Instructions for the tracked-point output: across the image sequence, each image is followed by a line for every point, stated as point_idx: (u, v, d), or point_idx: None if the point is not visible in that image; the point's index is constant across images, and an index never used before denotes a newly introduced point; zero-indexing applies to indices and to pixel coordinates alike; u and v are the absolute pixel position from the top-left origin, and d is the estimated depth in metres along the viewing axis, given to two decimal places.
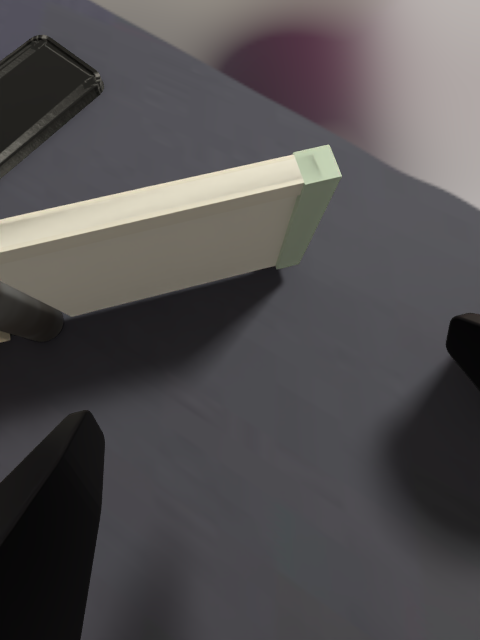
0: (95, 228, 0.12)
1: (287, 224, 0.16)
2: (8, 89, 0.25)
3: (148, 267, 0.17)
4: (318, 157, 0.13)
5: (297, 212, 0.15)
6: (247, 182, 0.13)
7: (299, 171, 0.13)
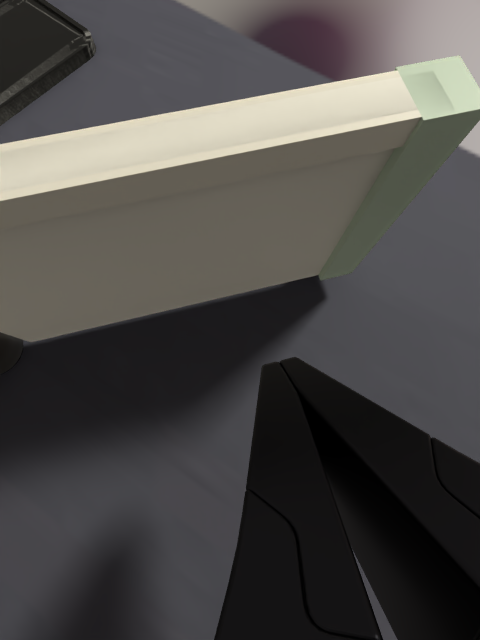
0: (23, 193, 0.06)
1: (357, 208, 0.10)
2: None
3: (136, 272, 0.11)
4: (443, 75, 0.07)
5: (385, 184, 0.09)
6: (315, 115, 0.07)
7: (411, 98, 0.07)
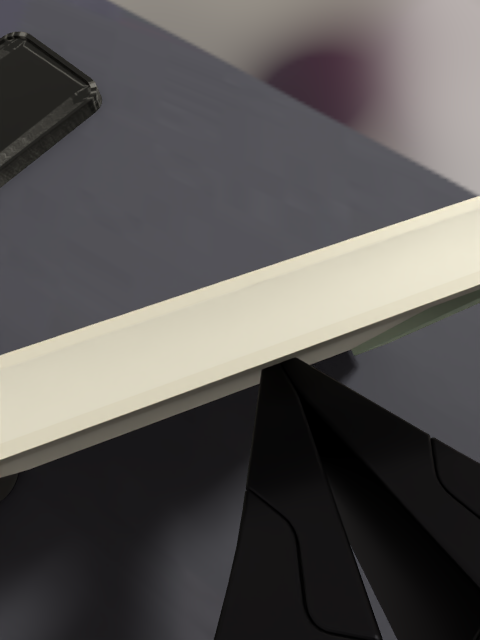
0: (8, 447, 0.04)
1: (418, 313, 0.08)
2: None
3: (154, 413, 0.09)
4: None
5: (467, 303, 0.07)
6: (406, 270, 0.05)
7: None
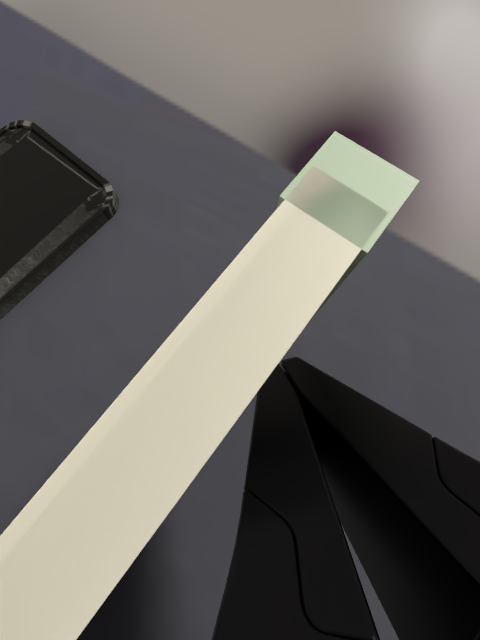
0: None
1: None
2: None
3: None
4: (339, 172, 0.05)
5: (330, 294, 0.07)
6: (238, 343, 0.04)
7: (330, 230, 0.05)
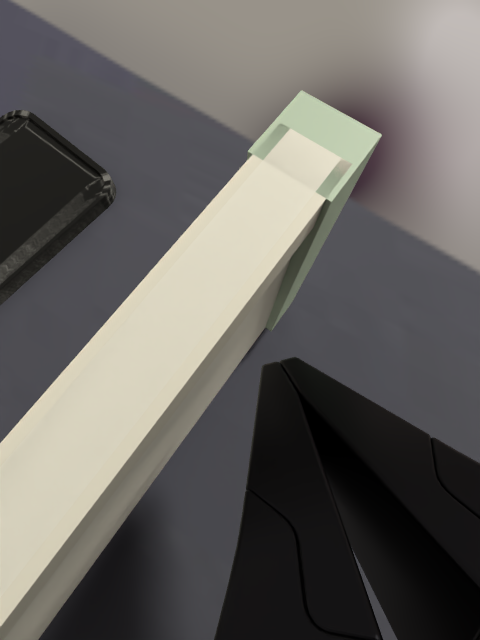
0: None
1: (282, 280, 0.08)
2: None
3: (101, 531, 0.08)
4: (305, 128, 0.05)
5: (306, 257, 0.07)
6: (207, 286, 0.04)
7: (295, 182, 0.05)
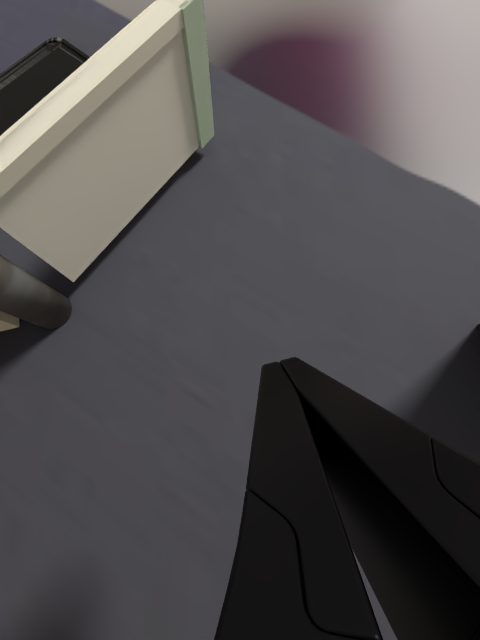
0: (58, 118, 0.14)
1: (188, 78, 0.19)
2: (24, 88, 0.26)
3: (110, 174, 0.18)
4: None
5: (189, 52, 0.18)
6: (143, 30, 0.15)
7: (172, 4, 0.16)
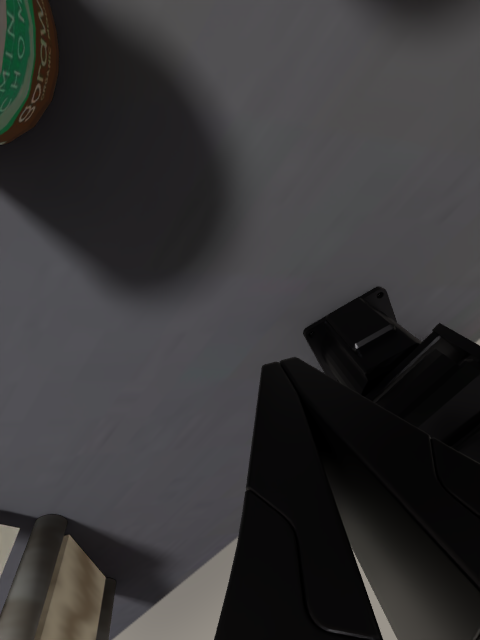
0: None
1: None
2: None
3: None
4: None
5: None
6: None
7: None
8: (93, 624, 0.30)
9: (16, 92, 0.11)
